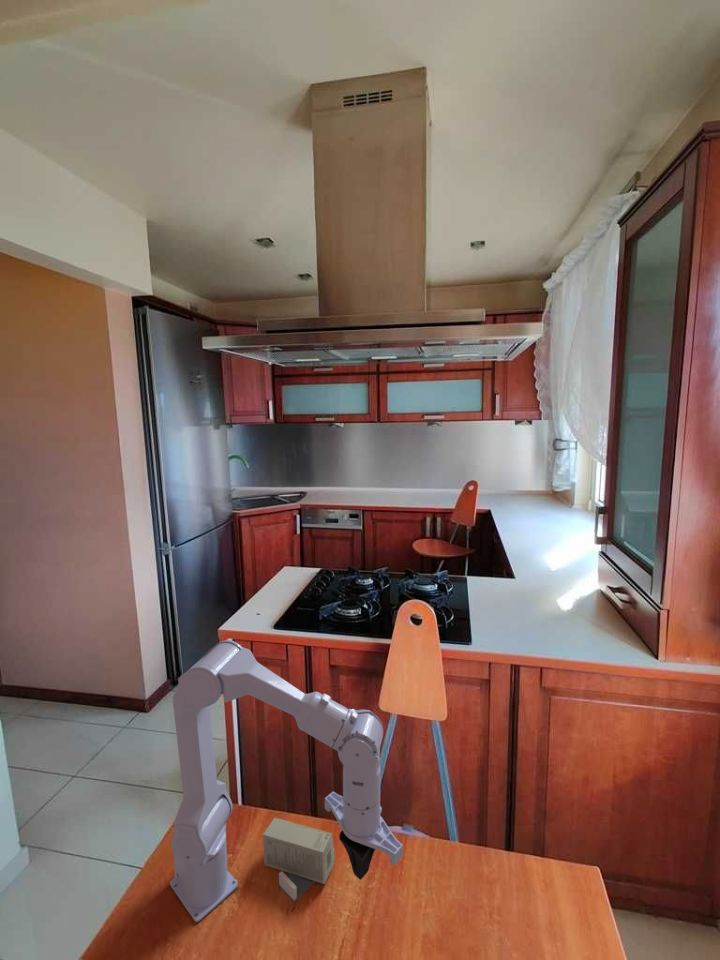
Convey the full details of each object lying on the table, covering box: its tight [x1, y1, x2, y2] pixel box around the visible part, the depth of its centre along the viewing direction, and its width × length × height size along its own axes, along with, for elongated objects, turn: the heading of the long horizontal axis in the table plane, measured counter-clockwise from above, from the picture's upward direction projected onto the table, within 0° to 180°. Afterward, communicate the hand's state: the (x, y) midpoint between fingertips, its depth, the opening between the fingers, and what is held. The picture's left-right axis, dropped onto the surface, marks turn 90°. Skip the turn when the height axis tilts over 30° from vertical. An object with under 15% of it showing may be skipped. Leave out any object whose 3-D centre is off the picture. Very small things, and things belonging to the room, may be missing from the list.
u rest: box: [278, 847, 336, 903], centre depth 81 cm, size 4×10×3 cm, turn 138°
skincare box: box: [262, 817, 335, 885], centre depth 82 cm, size 6×4×12 cm
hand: (361, 872), depth 71 cm, fingers closed
